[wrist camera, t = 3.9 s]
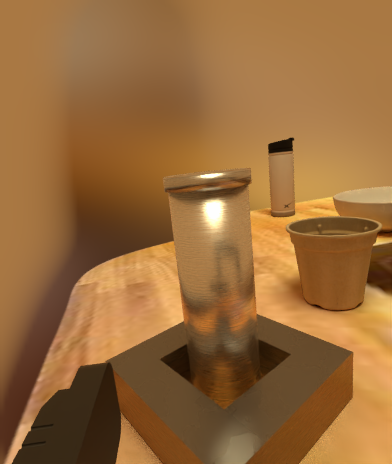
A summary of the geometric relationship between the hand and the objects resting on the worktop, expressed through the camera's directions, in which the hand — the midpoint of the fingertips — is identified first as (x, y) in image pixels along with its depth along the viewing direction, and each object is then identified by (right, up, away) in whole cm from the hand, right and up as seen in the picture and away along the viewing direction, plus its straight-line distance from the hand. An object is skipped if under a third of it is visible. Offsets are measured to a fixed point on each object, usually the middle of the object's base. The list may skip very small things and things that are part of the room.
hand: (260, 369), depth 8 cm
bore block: (0, -8, +13) cm, 16 cm away
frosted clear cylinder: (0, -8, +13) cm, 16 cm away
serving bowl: (+37, +5, +53) cm, 65 cm away
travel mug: (+22, +8, +75) cm, 79 cm away
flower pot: (+14, -4, +26) cm, 30 cm away
